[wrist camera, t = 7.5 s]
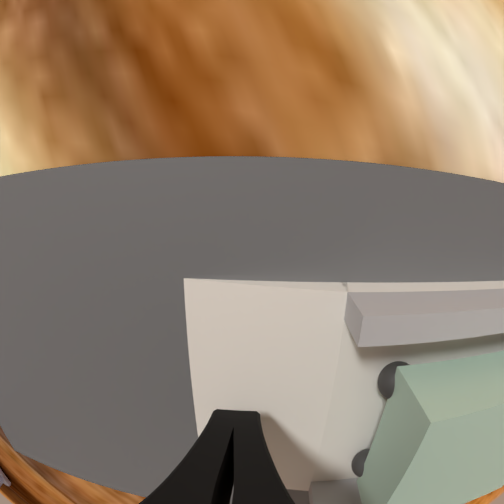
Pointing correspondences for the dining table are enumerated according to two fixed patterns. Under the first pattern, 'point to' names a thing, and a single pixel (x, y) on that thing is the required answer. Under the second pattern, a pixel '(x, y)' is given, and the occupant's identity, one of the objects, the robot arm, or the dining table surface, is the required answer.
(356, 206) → the dock
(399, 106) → the dining table surface
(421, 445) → the cart
